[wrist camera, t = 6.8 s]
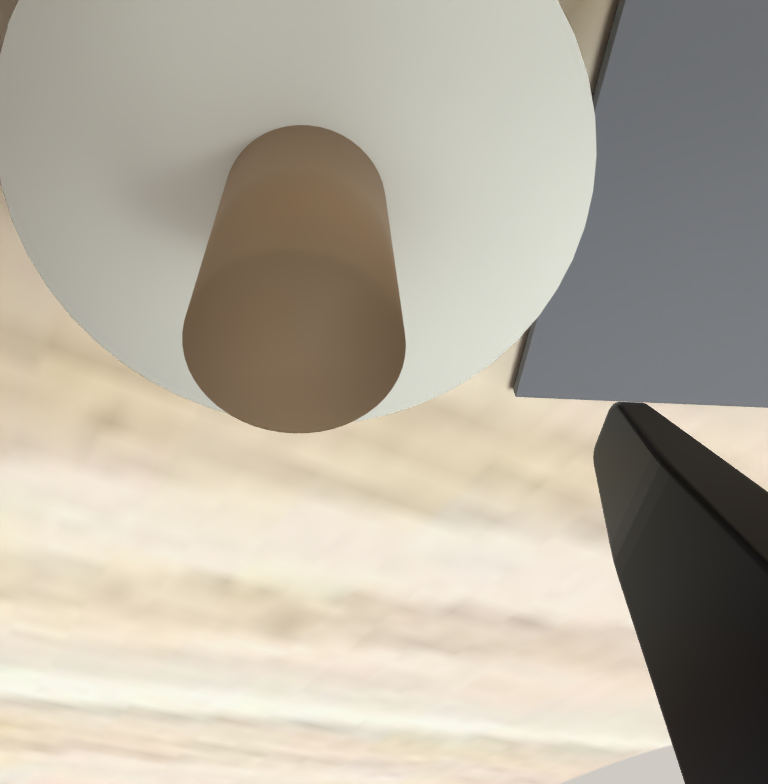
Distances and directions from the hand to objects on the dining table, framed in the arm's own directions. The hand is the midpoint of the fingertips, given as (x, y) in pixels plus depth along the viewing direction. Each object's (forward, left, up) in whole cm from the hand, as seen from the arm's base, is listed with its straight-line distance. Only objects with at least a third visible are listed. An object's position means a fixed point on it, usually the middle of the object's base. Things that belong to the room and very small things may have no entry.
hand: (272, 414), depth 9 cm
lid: (0, 0, -7) cm, 7 cm away
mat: (-12, +2, -11) cm, 17 cm away
